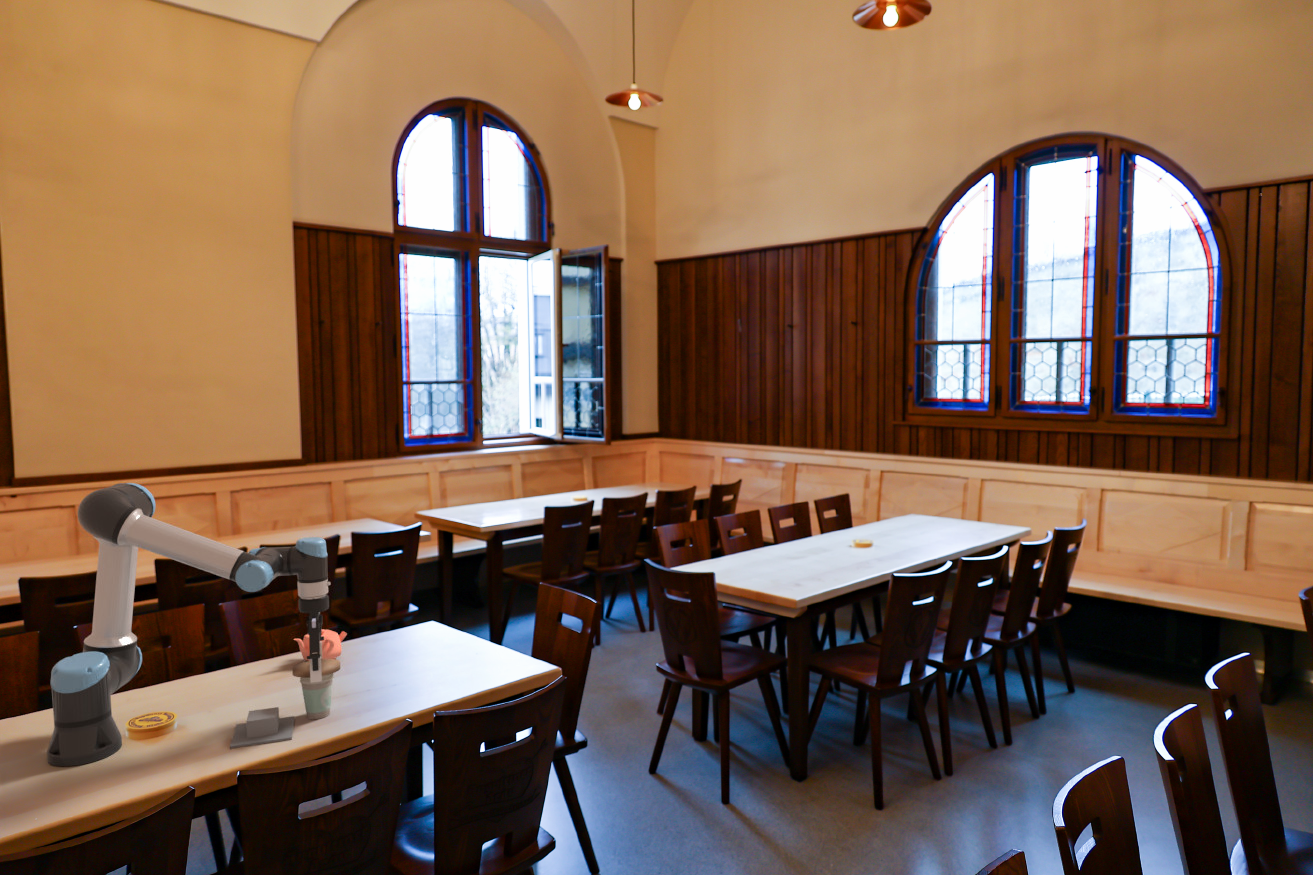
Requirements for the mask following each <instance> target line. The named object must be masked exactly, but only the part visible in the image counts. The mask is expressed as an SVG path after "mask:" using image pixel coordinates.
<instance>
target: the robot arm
mask: <svg viewBox="0 0 1313 875" xmlns="http://www.w3.org/2000/svg"><path fill="white" fill-rule="evenodd" d="M155 512H156V500H155V497H154V495H153V494H152V492H150V491H149V489H147V488H146V487H145V486H143V485H142V484H138V483H133V482H124V483H120V482H119V483H115V484H113V485H112V486H108V487H104V488H99V489H97V490H94V491H92V492H90V493H89V494H87V495H86V496H85V497H84V498H83V499H82V500H81V502H80V503H79V505H78V509H77V520H78V522H79V524H80V526H81V527H82V528H83V529H84V531H86V532H87V533H88V534H90V535H91V536H92V537H93V539H95V540H96V541H98V544H99V545H98V554H97V556H98V557H97V569H96V580H95V591H94V592H95V593H94V604H93V616H92V627H91V628H92V629H91V634H89V635H88V636H87V637H85V638H84V640H83V646H82V648H83V650H82V652H79V653H76V654H73V655H72V656H67V657H64V658H62V659H60V660H59V661H58V662H56V663H55V664H54V666H53V667H52V669H51V672H50V674H51V675H50V687H51V696H52V697H51V699H52V711H53V713H52V714H53V724H54V725H53V726H54V728H53V730H52V735H51V738H50V741H49V745H48V747H47V751H46V757H47V758H46V759H47V763H48V764H50V765H51V766H55V767H73V766H81V765H84V764H85V765H86V764H89V763H93V762H96V761H99V760H102V759H105V758H107V757H109V756H111V755H114V754H115V753H116V752H118V751H119V750H120V749H121V748H122V746H123V741H122V740H123V738H122V734H121V731H120V730H119V727H118V726H117V724H116V722H115V720H114V717H113V716H112V715H113V713H112V699H111V698H112V697H111V696H112V695H113V694H115V692H117V691H118V690H119V689H120V688H122V687H123V686H125V685H126V684H128V683H129V682H130V681H132V679H133V678H134V677H135V676H136V675H137V673H138V671H139V670H140V668H141V666H142V663H143V654H142V651H141V648H140V647H138V644H137V643H138V637H137V635H136V634H134V633H133V632H132V624H133V614H134V613H133V612H134V611H133V610H134V603H135V602H134V601H135V600H134V599H135V591H136V590H135V588H136V578H137V567H138V555H139V548H140V549H143V550H146V551H147V552H150V553H154V554H156V555H159V556H162V557H164V558H168V559H171V560H174V561H176V562H179V563H181V564H184V565H187V566H190V567H193V568H196V569H198V570H202V571H204V572H207V573H210V574H213V575H216V576H218V577H221V578H224V579H227V580H231V581H233V582H235V583H236V585H237V586H238V587H239V589H241V590H243V591H245V592H248V593H255V592H259V591H261V590H263V589H264V588H267V587H268V586H269V585H270V583H271V582H272V581H273V580H275V579H276V578H277V577H281V576H295V575H296V576H297V596H298V597H299V598H298V611H299V612H300V613H303V614H309V615H307V616H306V621H305V622H306V626H307V634H308V635H309V649H310V655H309V656H307V659H310V681H311V683H314V682H321V681H322V675H321V659H322V640H324V636H322V637H321V635H322V626H323V614H321V612H325V611H327V610H329V609H330V608H329V607H330V597H329V595H328V593H329V586H331V581H329V580H328V579H329V577H328V576H329V575H328V552H327V542H326V540H325V539H324V538H323V537H318V536H316V537H315V536H309V537H303V538H300V539H298V540H297V541H296V542H295V546H281V547H280V546H279V547H278V546H276V547H266V546H264V547H263V546H262V547H258V548H256V547H255V548H252V549H250V550H249V551H248V552H246V551H244V550H242V549H239V548H235V547H233V546H231V545H227V544H224V543H223V542H220V541H217V540H214V539H212V538H209V537H206V536H203V535H200V534H197V533H194V532H192V531H189V530H186V529H183V528H181V527H178V526H175V525H173V524H171V523H167V522H164V521H163V520H159V519H156V518H153V516H154V514H155ZM320 641H321V642H320Z"/></svg>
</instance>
